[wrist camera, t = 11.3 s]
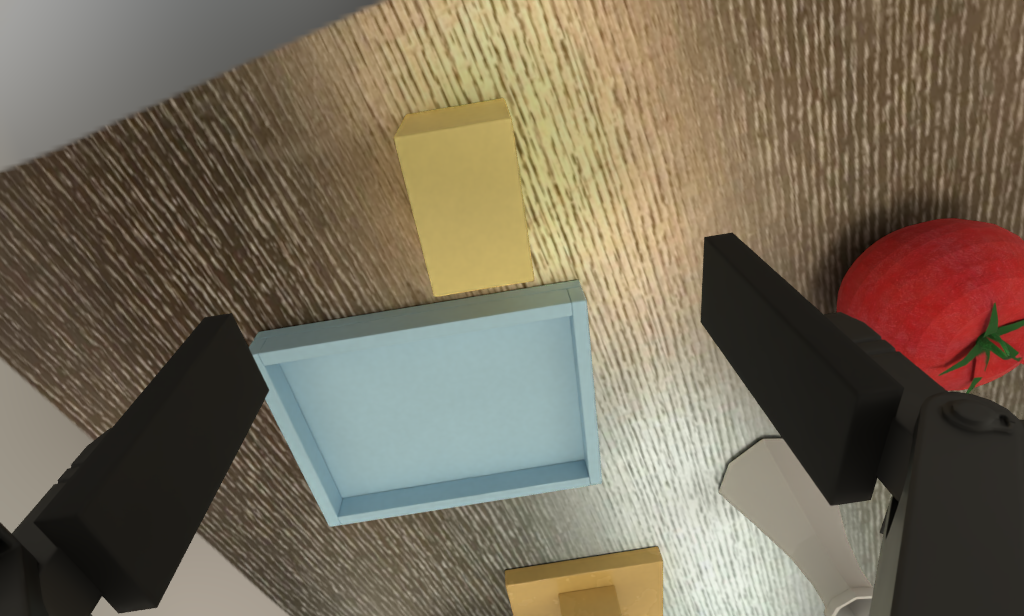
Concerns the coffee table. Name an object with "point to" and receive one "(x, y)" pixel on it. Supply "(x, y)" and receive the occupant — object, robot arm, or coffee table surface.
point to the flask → (798, 523)
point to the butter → (466, 196)
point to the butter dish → (438, 402)
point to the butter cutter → (590, 586)
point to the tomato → (944, 298)
